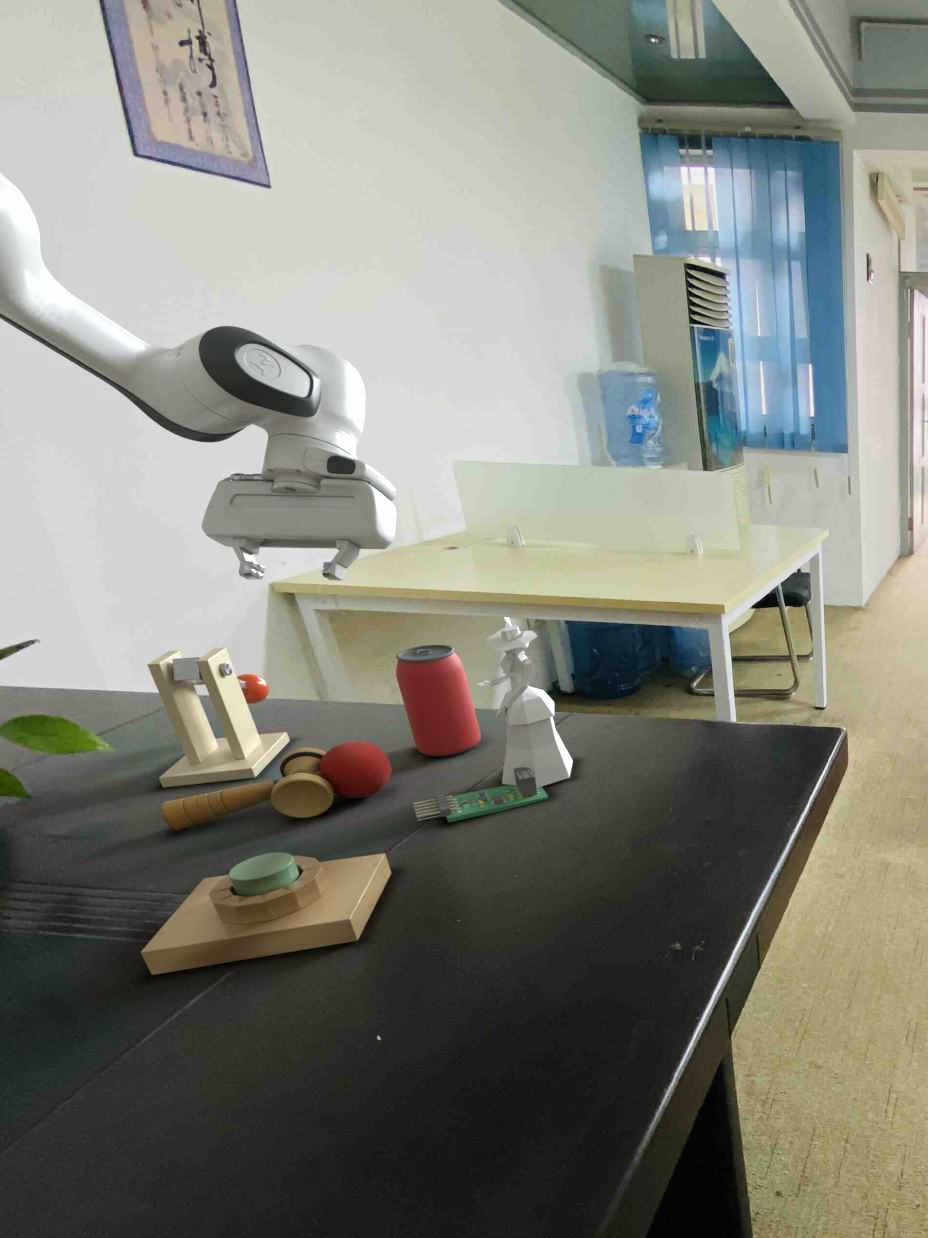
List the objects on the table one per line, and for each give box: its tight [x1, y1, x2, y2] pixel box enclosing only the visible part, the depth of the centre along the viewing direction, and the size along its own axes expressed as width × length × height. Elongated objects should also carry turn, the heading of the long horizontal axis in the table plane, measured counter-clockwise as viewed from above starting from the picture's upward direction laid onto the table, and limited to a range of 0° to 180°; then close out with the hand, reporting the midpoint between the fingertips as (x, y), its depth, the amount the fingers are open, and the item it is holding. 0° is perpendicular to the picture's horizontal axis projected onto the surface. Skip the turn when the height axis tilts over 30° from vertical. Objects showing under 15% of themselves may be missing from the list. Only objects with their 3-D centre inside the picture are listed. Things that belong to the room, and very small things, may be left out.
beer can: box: [395, 644, 482, 757], centre depth 94 cm, size 7×7×12 cm
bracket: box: [146, 647, 290, 788], centre depth 88 cm, size 10×8×13 cm
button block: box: [140, 853, 392, 976], centre depth 66 cm, size 13×10×4 cm
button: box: [228, 852, 300, 897], centre depth 65 cm, size 4×4×2 cm
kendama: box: [160, 740, 393, 832], centre depth 82 cm, size 8×6×18 cm
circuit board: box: [412, 767, 550, 823], centre depth 84 cm, size 12×3×5 cm
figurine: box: [476, 616, 574, 788], centre depth 88 cm, size 7×8×18 cm
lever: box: [172, 656, 270, 705], centre depth 92 cm, size 14×4×4 cm, turn 19°
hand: (291, 578), depth 98 cm, fingers open, 8 cm apart
